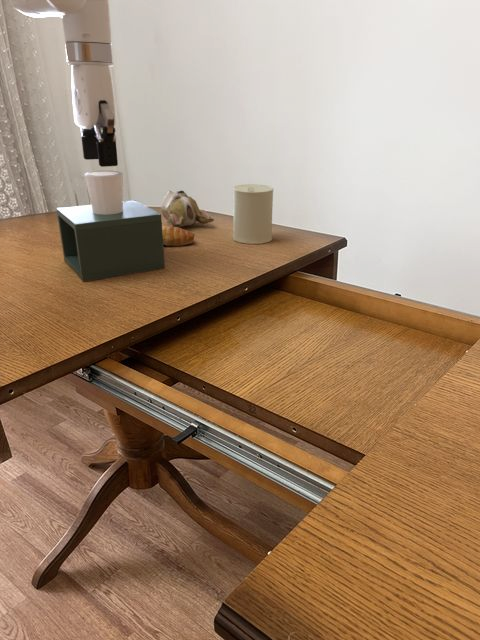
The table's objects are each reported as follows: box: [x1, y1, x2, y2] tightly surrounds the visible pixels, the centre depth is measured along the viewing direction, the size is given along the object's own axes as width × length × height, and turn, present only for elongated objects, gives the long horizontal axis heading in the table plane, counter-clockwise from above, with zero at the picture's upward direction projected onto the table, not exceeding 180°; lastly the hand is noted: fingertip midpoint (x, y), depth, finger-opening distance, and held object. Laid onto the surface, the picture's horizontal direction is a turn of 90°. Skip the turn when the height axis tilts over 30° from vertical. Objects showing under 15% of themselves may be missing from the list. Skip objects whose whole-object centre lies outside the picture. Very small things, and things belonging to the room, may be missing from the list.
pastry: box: [162, 225, 195, 247], centre depth 122 cm, size 9×7×4 cm
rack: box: [56, 199, 166, 282], centre depth 106 cm, size 16×14×11 cm
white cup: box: [84, 170, 124, 215], centre depth 102 cm, size 7×7×7 cm
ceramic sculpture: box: [160, 190, 215, 228], centre depth 135 cm, size 11×9×15 cm
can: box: [232, 183, 274, 245], centre depth 124 cm, size 9×9×12 cm
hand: (100, 162), depth 99 cm, fingers open, 9 cm apart
